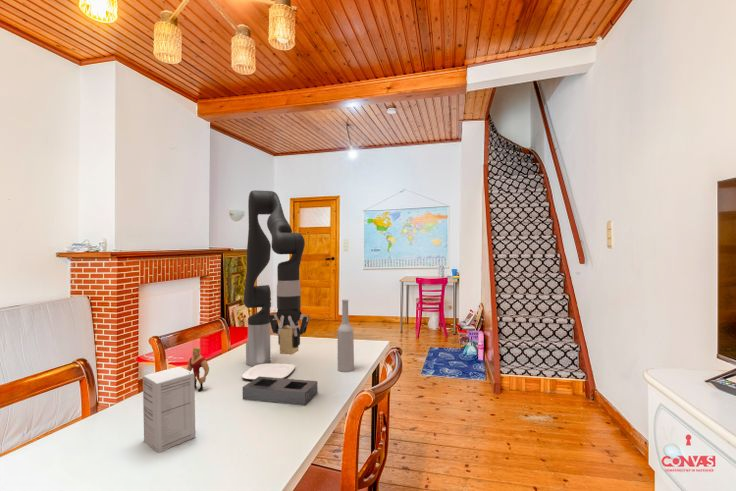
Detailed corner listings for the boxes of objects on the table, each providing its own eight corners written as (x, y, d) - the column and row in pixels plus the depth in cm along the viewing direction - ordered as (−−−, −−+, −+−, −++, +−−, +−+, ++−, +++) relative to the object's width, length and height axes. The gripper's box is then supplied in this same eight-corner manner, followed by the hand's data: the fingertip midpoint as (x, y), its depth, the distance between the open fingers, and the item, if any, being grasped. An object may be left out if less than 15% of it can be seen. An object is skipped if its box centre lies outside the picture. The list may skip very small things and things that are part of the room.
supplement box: (181, 426, 99) (180, 365, 99) (196, 437, 93) (196, 372, 93) (142, 441, 91) (141, 374, 91) (156, 453, 85) (156, 383, 86)
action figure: (181, 389, 125) (181, 346, 125) (190, 386, 129) (189, 344, 129) (202, 393, 122) (202, 348, 122) (210, 389, 125) (210, 346, 126)
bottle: (353, 372, 141) (352, 300, 141) (336, 372, 141) (336, 301, 141) (354, 366, 148) (353, 298, 148) (338, 366, 148) (337, 298, 148)
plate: (298, 367, 149) (298, 363, 149) (284, 383, 131) (284, 379, 131) (256, 366, 150) (256, 362, 150) (236, 382, 132) (236, 378, 132)
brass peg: (279, 353, 114) (279, 328, 115) (286, 349, 119) (286, 325, 119) (292, 354, 113) (291, 329, 113) (298, 350, 118) (298, 326, 118)
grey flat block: (242, 399, 116) (242, 387, 116) (259, 387, 126) (259, 376, 126) (305, 405, 111) (305, 392, 111) (317, 393, 120) (317, 381, 121)
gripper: (262, 295, 114) (263, 348, 114) (303, 296, 111) (304, 351, 111) (275, 292, 122) (275, 342, 122) (313, 293, 118) (314, 345, 118)
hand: (289, 346), depth 116 cm, fingers closed on brass peg, 4 cm apart
